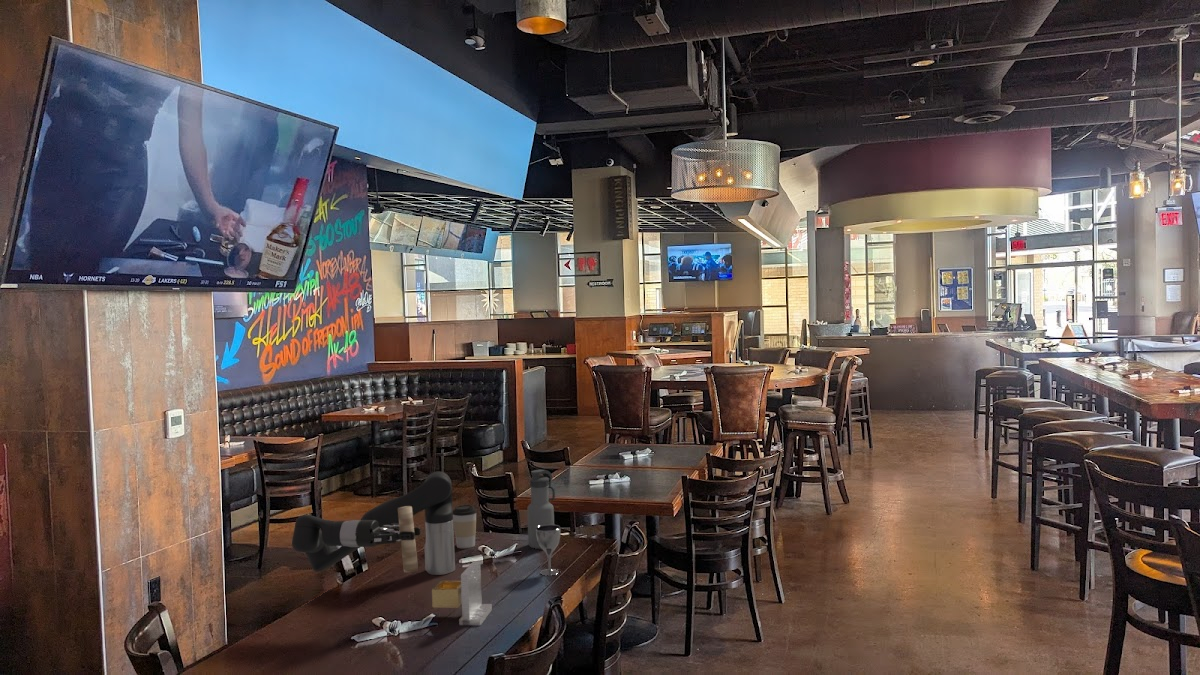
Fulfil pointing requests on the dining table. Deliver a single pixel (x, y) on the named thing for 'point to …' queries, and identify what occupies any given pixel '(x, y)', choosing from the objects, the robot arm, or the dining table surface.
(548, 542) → the wine glass
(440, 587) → the cup bracket
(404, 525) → the rail post
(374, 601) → the dining table surface
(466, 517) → the coffee cup
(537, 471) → the water bottle
